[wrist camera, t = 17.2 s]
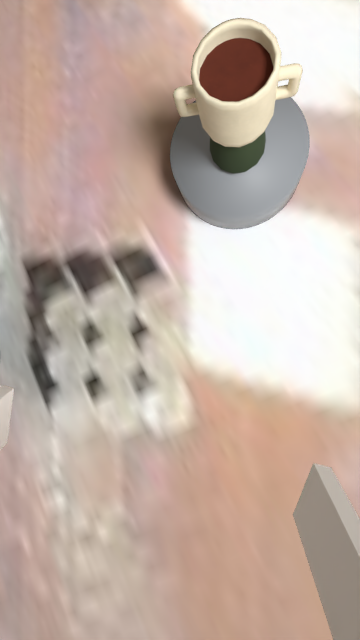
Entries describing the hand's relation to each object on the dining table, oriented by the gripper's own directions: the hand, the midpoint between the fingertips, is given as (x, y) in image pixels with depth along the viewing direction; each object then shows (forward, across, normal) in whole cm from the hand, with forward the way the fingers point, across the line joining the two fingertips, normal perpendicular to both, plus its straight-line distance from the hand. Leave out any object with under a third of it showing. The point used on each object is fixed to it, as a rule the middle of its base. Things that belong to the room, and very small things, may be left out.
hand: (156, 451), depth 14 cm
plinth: (+35, +2, +19) cm, 40 cm away
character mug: (+31, +1, +20) cm, 36 cm away
